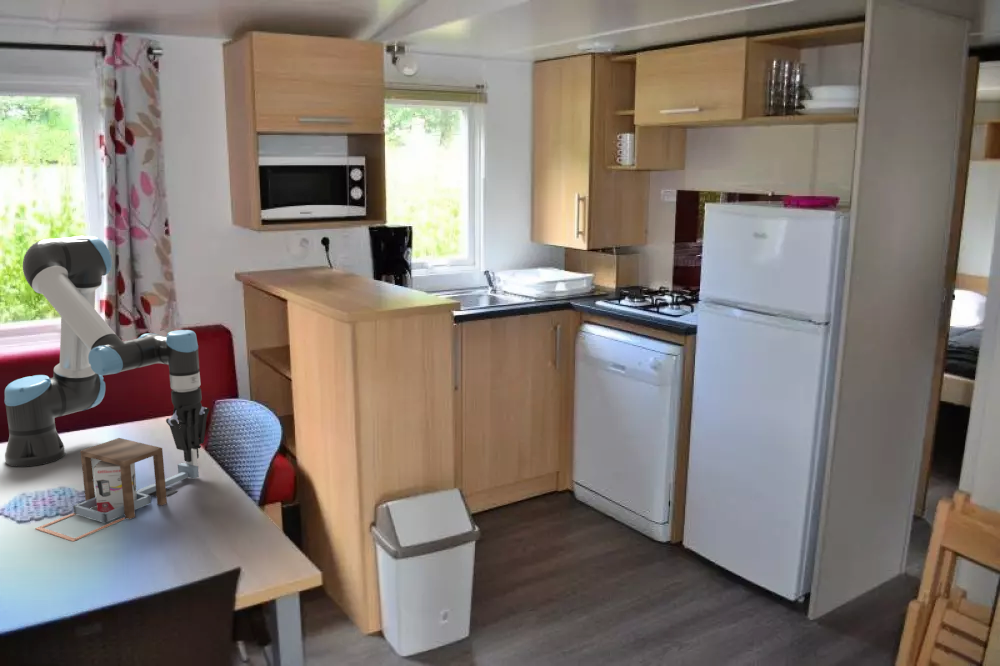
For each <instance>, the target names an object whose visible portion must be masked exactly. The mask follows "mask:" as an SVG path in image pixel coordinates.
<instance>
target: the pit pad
mask: <svg viewBox="0 0 1000 666" xmlns="http://www.w3.org/2000/svg"><path fill="white" fill-rule="evenodd" d="M176 493H178V490H176V489H171V488H167V487H166V498H167V497H169V496H171V495H174V494H176ZM147 495H150V496H151V497H154V498H155V497H156V498H157V495H156V491H154V492H152V493H149V494H147Z"/></svg>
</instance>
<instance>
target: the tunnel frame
mask: <svg viewBox="0 0 1000 666" xmlns="http://www.w3.org/2000/svg"><path fill="white" fill-rule="evenodd" d="M151 457H152V459H153V460H152V461H153V469H154V480H155V481H154V483H155V484H156V495H157V497H156V504H157V505H159V506H163V505H166V504H168V500H167V497H166V488H167V486H165V479H166V477H165V476H166V475H165V466H164V465H165V464H164V452H163V447H160V446H155V445H152V444H151V445H150V444H147V443H143V442H138V441H134V440H130V439H124V438H122V437H121V438H120V437H118V438H115V439H111V440H109V441H106V442H102V443H99V444H97V445H94V446H90V447H88V448H85V449H82V450H80V460H81V469H82V471H81V472H82V478H83V479H82V480H83V489H84V497H85V499H84V500H85V501H87V500H89V499H92V498H95V497H96V489H95V479H94V469H93V462H92V461H93V460H97V461H105V462H108V463H112V464H116V465H120V471H121V481H122V492H123V502H124V512H125V514H124V518H125V519H127V520H131V519H133V518H136V512H135V511H136V510H134V499H133V488H132V478H131V467H130V464H133V463H135V464H136V463H137V462H141V461H143V460H146V459H148V458H149V459H150V458H151ZM92 459H93V460H92Z"/></svg>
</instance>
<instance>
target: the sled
mask: <svg viewBox="0 0 1000 666" xmlns="http://www.w3.org/2000/svg"><path fill="white" fill-rule="evenodd" d="M177 471H178V472H177V473H176V474H174V475H171V476H169V477H167V478H166V477H165V486H166V487H168V486H171V485H173V484H175V483H179V482H180V481H183V480H185V479H187V478H190V479H194V480H195V479H197V478H199V477H200V475H199V473H200V472H199V465H198V466H194V465H190V464H186V462H181V463H177ZM136 491H137V500H135V501H134V510H135V511H136V510H138V509H141V508H143V507H145V506H148V505H150V504H152V496H151V495H148V494H149V493H152V492H154V491H156V484H155V482H154V483H151V484H149V485H147V486H145V487H142V488H139V489H136ZM96 507H97V501H96V496H95V498H92V499H89V500H87V501H86V500H85V501H82V502H80V503H78V504H75V505H73V506H72V509H73V513H74V514H76V515H78V516H81V517H85V518H88V519H90V520H94V521H97V522H100V523H104V524H105V523H108V522H110V521H112V520H113V521H114V519H117V518H119V517H120V518H121V517H123V516H125V512H124V505H123V506H121V507H118V508H116V509H113V510H111V511H109V512H99V511H97V510H95V509H93V508H96ZM90 508H91V509H90Z"/></svg>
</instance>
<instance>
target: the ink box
mask: <svg viewBox="0 0 1000 666" xmlns="http://www.w3.org/2000/svg"><path fill="white" fill-rule="evenodd" d="M130 467H131V478H132V488H133V499H134V501H135V500H137V479H136V477H137V476H136V463H133V464H130ZM93 477H94V489H95V497H96V501H97V506H96V509H97V510H96V511H99V512H102V513H106V512H109V511H111V510H113V509H116V508H118V507H121V506H123V505H124V502H123V492H122V481H121V471H120V465H116V464H112V463H108V462H105V461H101V460H98V462H97V463H96V464H95V465H94V467H93Z"/></svg>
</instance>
